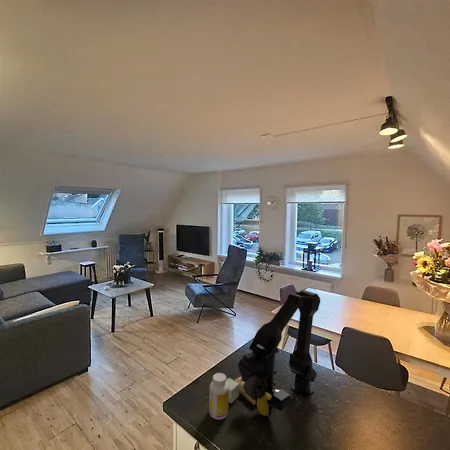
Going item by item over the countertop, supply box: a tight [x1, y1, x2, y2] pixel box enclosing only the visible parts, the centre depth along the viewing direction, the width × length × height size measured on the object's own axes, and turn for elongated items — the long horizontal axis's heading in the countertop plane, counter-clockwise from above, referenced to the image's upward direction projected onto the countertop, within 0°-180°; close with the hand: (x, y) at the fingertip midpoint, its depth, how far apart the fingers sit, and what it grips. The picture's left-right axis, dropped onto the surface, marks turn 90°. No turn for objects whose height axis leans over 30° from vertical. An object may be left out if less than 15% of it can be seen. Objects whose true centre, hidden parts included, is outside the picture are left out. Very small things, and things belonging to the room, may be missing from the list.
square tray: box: [234, 375, 276, 406], centre depth 100 cm, size 11×11×4 cm
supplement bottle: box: [208, 372, 229, 420], centre depth 88 cm, size 7×7×13 cm
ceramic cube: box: [226, 377, 240, 404], centre depth 96 cm, size 5×5×5 cm
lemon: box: [256, 392, 271, 417], centre depth 87 cm, size 6×6×8 cm
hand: (264, 410), depth 87 cm, fingers open, 6 cm apart
